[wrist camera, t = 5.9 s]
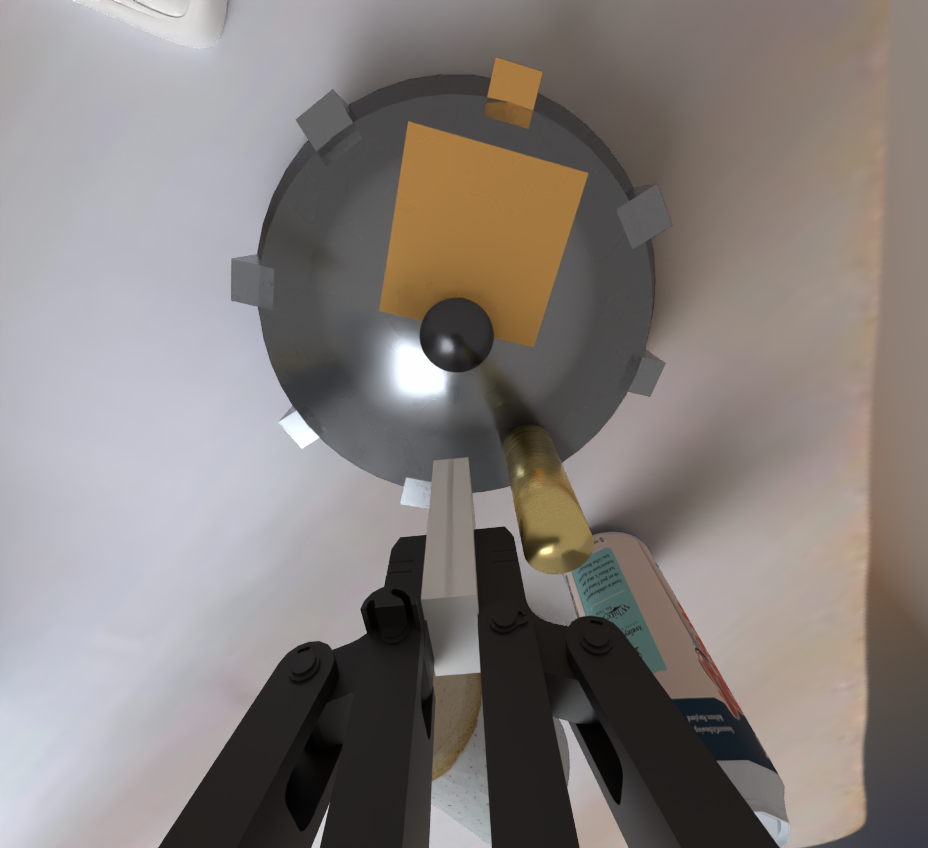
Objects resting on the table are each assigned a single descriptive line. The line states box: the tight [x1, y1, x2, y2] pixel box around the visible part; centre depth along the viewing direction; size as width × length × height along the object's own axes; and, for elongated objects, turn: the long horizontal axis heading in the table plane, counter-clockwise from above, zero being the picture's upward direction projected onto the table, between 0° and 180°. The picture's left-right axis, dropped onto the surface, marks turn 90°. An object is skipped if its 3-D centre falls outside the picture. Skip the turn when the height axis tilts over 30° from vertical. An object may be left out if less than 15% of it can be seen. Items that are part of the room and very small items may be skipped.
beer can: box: [563, 531, 790, 848], centre depth 18 cm, size 5×5×12 cm
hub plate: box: [257, 75, 655, 324], centre depth 18 cm, size 16×16×1 cm
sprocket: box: [231, 57, 672, 574], centre depth 14 cm, size 16×16×8 cm
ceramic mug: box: [431, 670, 570, 846], centre depth 25 cm, size 11×8×8 cm
